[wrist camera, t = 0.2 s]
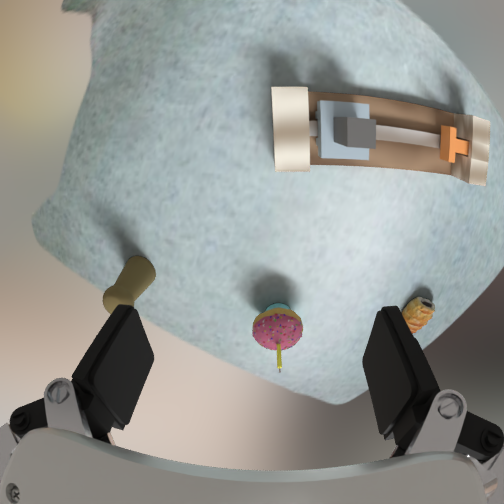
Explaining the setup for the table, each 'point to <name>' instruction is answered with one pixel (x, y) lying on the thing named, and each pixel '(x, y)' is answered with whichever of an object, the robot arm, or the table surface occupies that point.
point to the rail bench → (385, 147)
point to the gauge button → (451, 144)
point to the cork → (129, 283)
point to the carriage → (344, 130)
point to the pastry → (418, 313)
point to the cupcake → (277, 329)
